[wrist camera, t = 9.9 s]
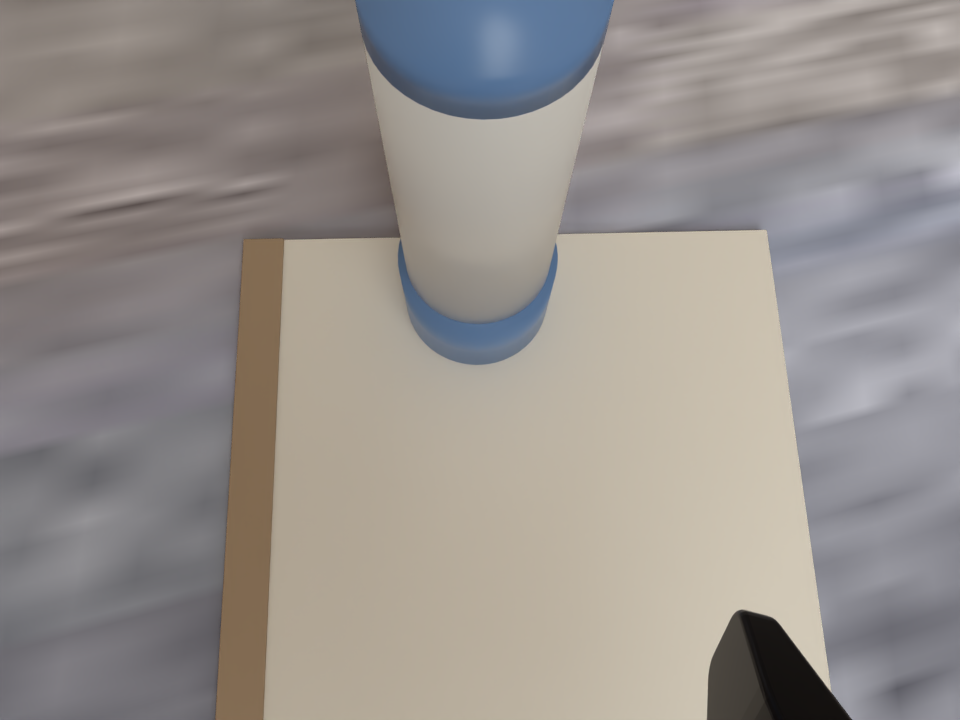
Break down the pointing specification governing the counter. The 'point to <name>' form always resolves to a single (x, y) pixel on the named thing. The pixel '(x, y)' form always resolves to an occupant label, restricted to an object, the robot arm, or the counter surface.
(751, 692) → the robot arm
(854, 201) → the counter surface
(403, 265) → the cylinder
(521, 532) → the notepad
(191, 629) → the counter surface
